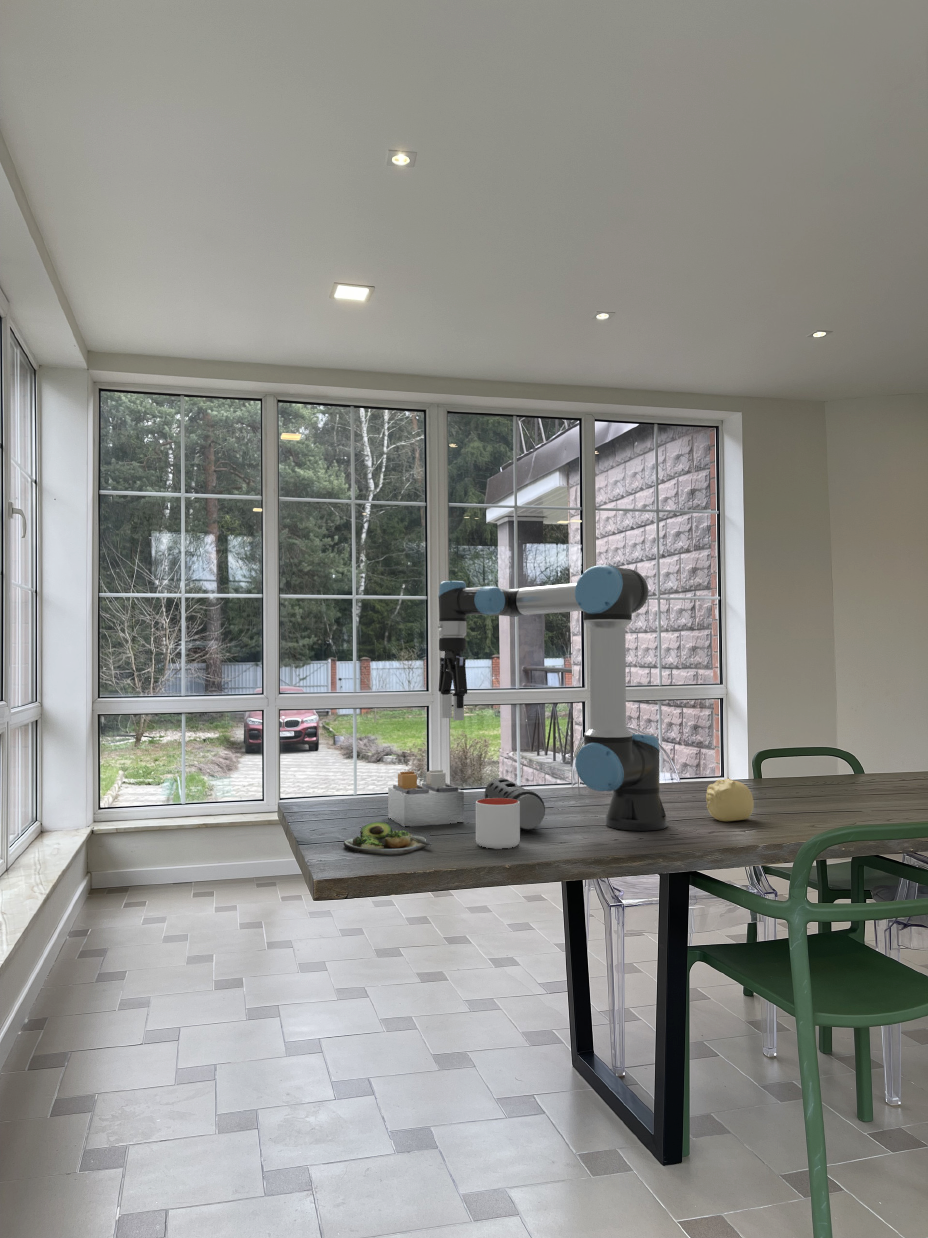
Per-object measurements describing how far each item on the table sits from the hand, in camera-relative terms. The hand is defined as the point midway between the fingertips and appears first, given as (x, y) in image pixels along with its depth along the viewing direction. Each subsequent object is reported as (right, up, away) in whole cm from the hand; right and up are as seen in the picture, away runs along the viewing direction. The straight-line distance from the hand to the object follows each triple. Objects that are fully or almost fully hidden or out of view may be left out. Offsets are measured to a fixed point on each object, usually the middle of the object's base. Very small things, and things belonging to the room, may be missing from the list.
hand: (452, 719), depth 254 cm
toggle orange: (-12, -17, -12) cm, 24 cm away
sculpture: (+72, -25, -13) cm, 78 cm away
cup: (+11, -24, -45) cm, 52 cm away
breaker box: (-7, -25, -13) cm, 29 cm away
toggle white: (-4, -17, -9) cm, 19 cm away
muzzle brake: (+16, -25, -19) cm, 35 cm away
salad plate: (-15, -24, -45) cm, 54 cm away
